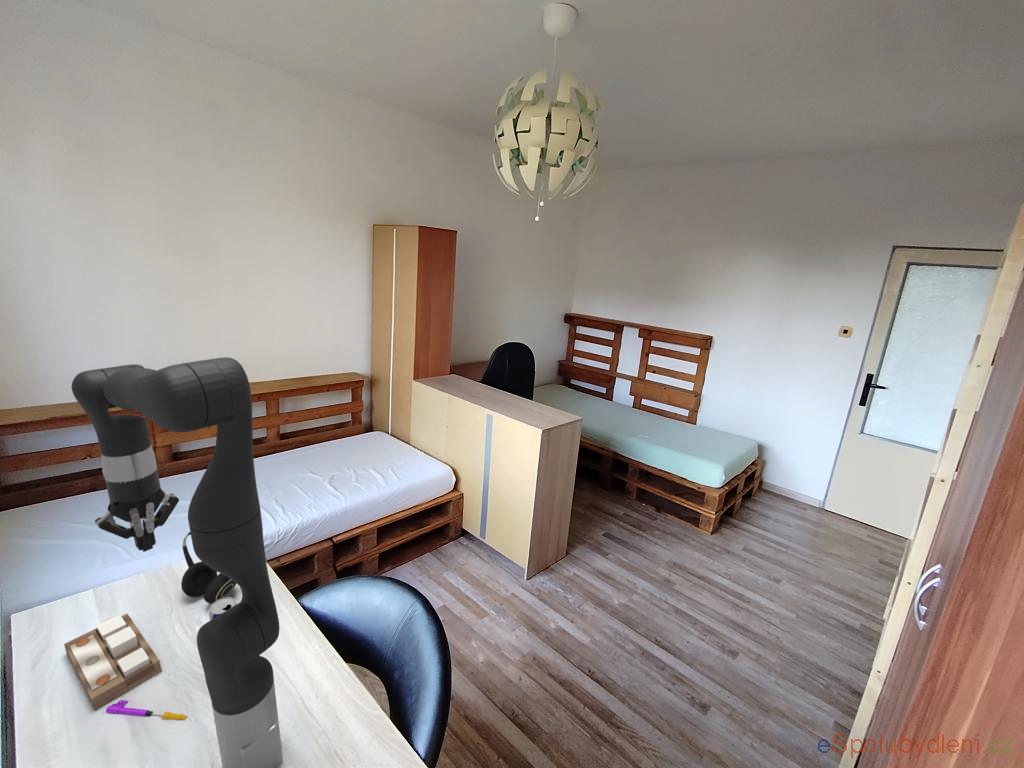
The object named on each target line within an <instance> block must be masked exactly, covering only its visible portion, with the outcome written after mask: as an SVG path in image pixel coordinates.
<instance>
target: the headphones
mask: <svg viewBox="0 0 1024 768" xmlns="http://www.w3.org/2000/svg"><path fill="white" fill-rule="evenodd" d="M189 536H191V533H190V531H189V532H188V533H187V534H185V537H184V538H183V540H182V552H183V555H184V558H185V561H186V564H187V567H188V568H187V569H186V570H185V572H184V574H183V576H182V577H181V583H180V584H181V585H180V586H181V590H182V592H183V594H185V595H186V596H187V597H190V598H200V597H203V599H204V601H205V602H206V603H208V604H210V605H212V604H213V603H214V602H215V601H217V600H219V599H221V598H225V597H229V596H230V595H231V593H232V592H233V590H234V589H235V587H236V585H237V584H236V583H235V582H234V581H233V580H231V579H230V578H228V577H226V576H225V575H223V574H221V573H219V574H218V572H217V571H215V570H214V569H212V568H210V567H209V566H207V565H206V564H204V563H203V562H202V561H198V562H196V563H194V560H193V558H192V556H191V555H190V552H189V550H188V546H187V544H186V543H187V539H188V537H189Z"/></svg>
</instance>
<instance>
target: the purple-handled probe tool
mask: <svg viewBox="0 0 1024 768" xmlns="http://www.w3.org/2000/svg"><path fill="white" fill-rule="evenodd" d="M129 702H130V701H129V700H125V699H124V700H123V699H120V700H118V701H117V702H116V703H112V704H111V705H109V706H108V707H106V709H105V711H106V713H108V714H109V713H110V714H116V715H118V714H120V715H121V714H122V715H129V716H139V717H151V716H160V717H161V719H162V720H173V721H181V720H183V721H186V719H187V718H188V715H184V714H183V713H182V714H181V713H172V712H170V711H165V712H164V713H161V714H160V713H154V711H152V710H149V709H140V708H132V707H126V705H127V704H128V703H129Z"/></svg>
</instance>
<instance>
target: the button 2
mask: <svg viewBox="0 0 1024 768" xmlns="http://www.w3.org/2000/svg"><path fill="white" fill-rule="evenodd" d="M117 662H118V666H119V670H120V673H121V674H122V676H123V678H126V677H128V676H129V675H131V674H133V673H135V672H136V671H138V670H140V669H142V668H143V667H145V666H147V665H149V664H150V660H149V657H148V656H147V654H146V653H145V651H144V650H143V648H140V649H138V650H136V651H134V652H132V653H131V654H129V655H127V656H125V657H123V658H121V659H120V660H118V661H117Z"/></svg>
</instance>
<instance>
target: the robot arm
mask: <svg viewBox="0 0 1024 768" xmlns="http://www.w3.org/2000/svg"><path fill="white" fill-rule="evenodd" d="M71 392H72V395H73V396H74V398H75V400H76V401H77V403H78V404H79V405H80V407H81V408H82V410H83V411H84V412H85V414H86V416H87V417H88V419H89V421H90V422H91V424H92V426H93V429H94V431H95V435H96V436H97V437H96V438H97V441H98V446H99V450H100V455H101V468H102V475H103V477H104V482H105V484H106V485H105V486H106V489H107V494H108V495H107V496H108V499H109V504H108V506H107V512H105V514H104V515H103V516H101V517H97V518H96V519H95V520H94V522H95V524H96V525H97V527H98V528H99V529H101V530H103V531H105V532H108V533H110V534H113V535H115V536H117V537H120V538H123V539H126V540H128V539H130V538H133V540H134V541H133V542H134V543H135V547H136V548H137V550H139V551H142V552H143V553H145V552H147V551H151V550H152V549H153V547H154V546H155V545H156V543H157V541H156V536H155V530H156V529H157V528H158V527H163V526H164V525H165V523H166V522H167V521H168V520H169V517H170V515H172V513H173V511H174V510H175V508H176V507H177V505H178V503H179V502H180V498H179V497H178V496H177V495H175V494H174V493H170V494H168V493H165V491H164V490H163V489H162V488H161V481H160V476H159V470H158V466H157V465H158V464H157V461H156V460H157V459H156V454H155V452H154V449H153V447H152V442H151V441H152V440H151V438H150V436H151V435H150V432H149V426H148V422H147V420H146V419H148V420H150V421H151V422H152V423H154V424H156V426H158V427H161V428H162V429H165V430H166V431H169V432H173V433H188V432H194V431H198V430H200V429H205V428H208V427H212V426H215V425H216V440H215V441H216V442H215V447H214V450H213V454H212V457H211V459H210V461H209V463H208V465H207V468H206V469H205V471H204V473H203V475H202V477H201V478H200V481H199V483H198V485H197V487H196V489H195V491H194V493H193V494H192V497H191V501H190V503H189V506H188V511H187V520H188V521H187V522H188V526H189V532H190V533H191V535H190V538H191V542H192V543H191V544H192V548H193V552H194V553H195V554H194V555H195V556H196V557H197V558H198V559H199V560H200V562H203V563H204V564H206V565H207V566H209V567H210V568H212V569H214V570H215V571H217V573H219V574H220V573H221V574H223V575H225V576H226V577H228V578H230V579H231V580H233V581H234V582H235V583H236V585H237V586H239V588H240V590H241V600H240V602H237V605H235V606H233V607H232V608H230V609H228V610H227V611H225V612H223V613H222V614H220V615H218V616H217V617H215V618H214V619H212V620H210V619H209V621H207V622H206V623H204V624H203V625H202V626H201V627H200V628H198V631H197V635H196V645H197V646H196V647H197V651H198V655H199V657H200V661H201V665H202V669H203V673H204V679H205V684H206V687H207V691H208V694H209V697H210V700H211V706H212V707H211V708H212V713H213V718H214V725H215V732H216V737H217V743H218V748H219V749H218V750H219V755H220V761H221V765H222V768H277V767H278V766H279V765H280V764H281V763H283V761H284V760H283V752H282V751H283V750H282V749H283V748H282V740H281V731H280V722H279V721H280V720H279V713H278V705H277V696H276V685H275V676H274V669H273V665H272V664H271V662H270V660H269V659H268V658H266V657H264V656H261V655H262V654H264V653H265V652H266V651H267V650H269V649H270V648H271V647H272V646H273V645H274V644H275V643H276V642H277V640H278V638H279V635H280V620H279V615H278V614H279V613H278V609H277V605H276V602H275V597H274V593H273V589H272V584H271V581H270V580H271V579H270V576H269V571H268V565H267V564H268V563H267V558H266V550H265V541H264V530H263V529H264V528H263V518H262V511H261V505H260V499H259V493H258V487H257V479H256V478H257V477H256V470H255V462H254V460H255V459H254V440H253V439H254V438H253V437H254V436H253V433H254V432H253V400H252V398H253V397H252V391H251V385H250V382H249V378H248V375H247V372H246V371H245V369H244V367H243V366H242V364H241V363H240V362H239V361H238V360H237V359H235V358H232V357H216V358H215V357H214V358H210V359H209V358H208V359H203V360H195V361H190V362H183V363H178V364H177V363H176V364H172V365H168V366H166V367H163V368H160V369H158V370H155V369H152V368H145V367H144V366H143V365H141V364H126V365H125V364H123V365H118V366H111V367H104V368H96V369H88V370H84V371H81V372H79V373H77V374H76V375H75V377H73V380H72V381H71ZM113 408H120V409H123V410H127V411H132V412H139V414H141V415H142V416H141V415H138V414H111V413H110V412H109V411H110V409H113ZM143 416H144V417H143ZM145 418H146V419H145ZM159 507H160V508H159ZM114 517H116V518H118V519H120V520H122V521H124V522H126V523H128V524H129V527H125V526H123V525H121V524H118V523H116V520H115V519H114Z"/></svg>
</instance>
